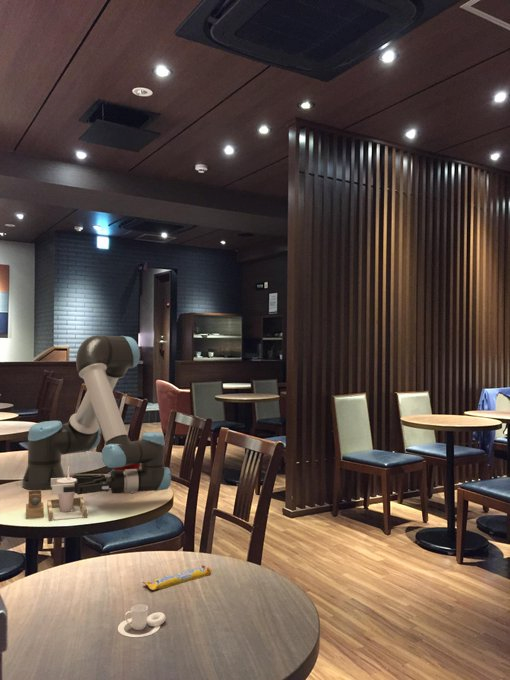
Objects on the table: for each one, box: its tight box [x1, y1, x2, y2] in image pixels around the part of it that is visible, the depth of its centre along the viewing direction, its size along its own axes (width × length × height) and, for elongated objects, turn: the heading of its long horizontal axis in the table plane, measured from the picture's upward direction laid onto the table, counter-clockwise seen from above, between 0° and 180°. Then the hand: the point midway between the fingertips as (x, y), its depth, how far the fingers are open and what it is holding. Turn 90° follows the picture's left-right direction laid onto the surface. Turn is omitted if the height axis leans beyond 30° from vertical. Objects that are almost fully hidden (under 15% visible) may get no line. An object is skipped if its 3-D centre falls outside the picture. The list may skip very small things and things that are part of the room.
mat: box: [53, 511, 83, 521], centre depth 178 cm, size 6×8×1 cm
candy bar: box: [142, 564, 213, 591], centre depth 132 cm, size 17×4×2 cm, turn 129°
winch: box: [25, 490, 45, 520], centre depth 179 cm, size 6×5×7 cm
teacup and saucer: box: [117, 603, 167, 638], centre depth 110 cm, size 9×8×4 cm
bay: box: [46, 496, 88, 522], centre depth 182 cm, size 15×11×2 cm
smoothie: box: [56, 466, 77, 513], centre depth 185 cm, size 6×6×14 cm
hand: (51, 486), depth 183 cm, fingers open, 9 cm apart
